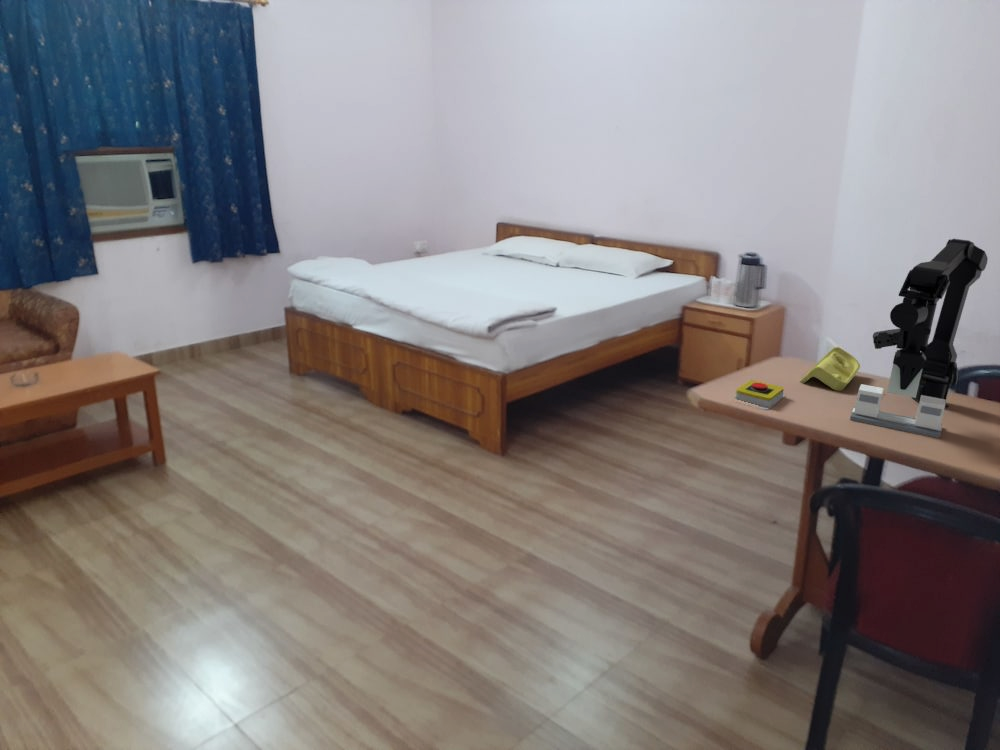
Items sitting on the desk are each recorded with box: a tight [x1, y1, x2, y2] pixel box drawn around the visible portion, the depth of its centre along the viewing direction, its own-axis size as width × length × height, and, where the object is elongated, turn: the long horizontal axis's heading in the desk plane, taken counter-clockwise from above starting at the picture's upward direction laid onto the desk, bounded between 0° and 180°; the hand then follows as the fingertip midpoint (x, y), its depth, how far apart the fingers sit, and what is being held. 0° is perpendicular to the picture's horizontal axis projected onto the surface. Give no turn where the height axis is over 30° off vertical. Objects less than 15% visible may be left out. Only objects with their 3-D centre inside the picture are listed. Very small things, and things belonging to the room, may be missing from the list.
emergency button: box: [734, 379, 786, 411], centre depth 189 cm, size 9×4×15 cm
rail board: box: [849, 383, 946, 439], centre depth 175 cm, size 19×8×7 cm, turn 60°
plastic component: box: [800, 346, 861, 392], centre depth 206 cm, size 20×7×10 cm
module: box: [886, 363, 922, 399], centre depth 173 cm, size 6×5×7 cm
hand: (903, 386), depth 174 cm, fingers closed on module, 5 cm apart
